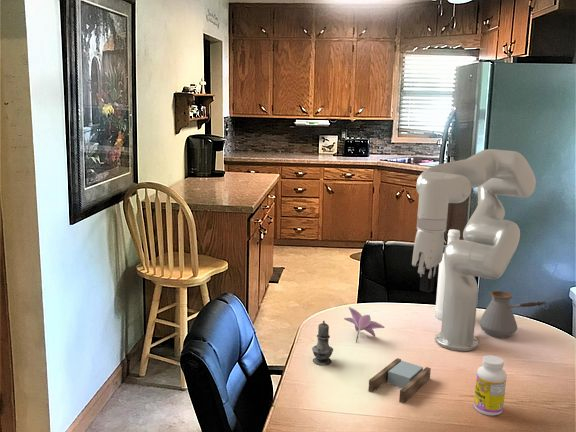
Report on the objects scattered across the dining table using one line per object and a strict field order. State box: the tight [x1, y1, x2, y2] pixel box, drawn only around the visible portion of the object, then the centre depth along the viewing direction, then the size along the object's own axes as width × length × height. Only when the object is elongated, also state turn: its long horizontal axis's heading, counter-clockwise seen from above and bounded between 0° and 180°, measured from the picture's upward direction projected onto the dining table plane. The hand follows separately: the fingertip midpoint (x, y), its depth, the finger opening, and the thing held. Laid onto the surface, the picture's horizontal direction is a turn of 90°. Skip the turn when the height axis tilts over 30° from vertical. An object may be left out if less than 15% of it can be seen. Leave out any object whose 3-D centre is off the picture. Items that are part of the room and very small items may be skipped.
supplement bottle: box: [473, 355, 507, 416], centre depth 142 cm, size 7×7×13 cm
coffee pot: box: [478, 290, 549, 339], centre depth 184 cm, size 21×12×15 cm, turn 34°
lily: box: [343, 307, 386, 343], centre depth 182 cm, size 12×12×10 cm
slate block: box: [387, 360, 424, 389], centre depth 157 cm, size 8×6×4 cm
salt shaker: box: [311, 320, 334, 366], centre depth 166 cm, size 6×6×12 cm
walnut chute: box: [367, 358, 431, 404], centre depth 154 cm, size 16×10×3 cm, turn 144°
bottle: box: [434, 228, 461, 322], centre depth 198 cm, size 8×8×30 cm
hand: (426, 291), depth 160 cm, fingers closed
